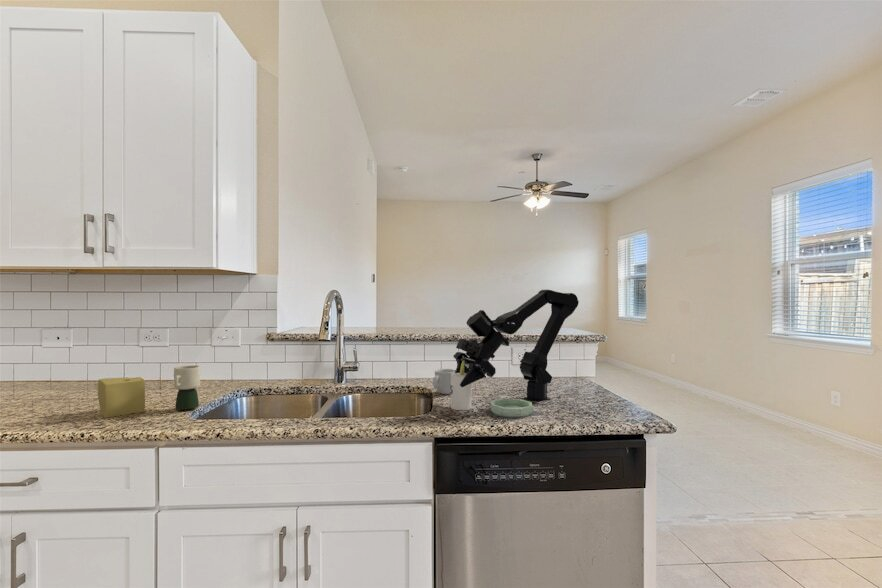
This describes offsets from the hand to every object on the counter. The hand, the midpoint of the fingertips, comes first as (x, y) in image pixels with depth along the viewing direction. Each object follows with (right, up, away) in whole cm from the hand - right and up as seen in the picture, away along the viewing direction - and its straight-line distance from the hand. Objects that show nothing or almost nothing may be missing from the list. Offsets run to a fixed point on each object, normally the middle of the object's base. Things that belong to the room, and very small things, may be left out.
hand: (456, 384), depth 136 cm
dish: (+16, -7, -5) cm, 18 cm away
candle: (+1, -8, +1) cm, 8 cm away
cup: (-4, -8, +21) cm, 23 cm away
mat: (+16, -8, -5) cm, 19 cm away
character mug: (-83, -8, 0) cm, 83 cm away
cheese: (-100, -8, -4) cm, 101 cm away
